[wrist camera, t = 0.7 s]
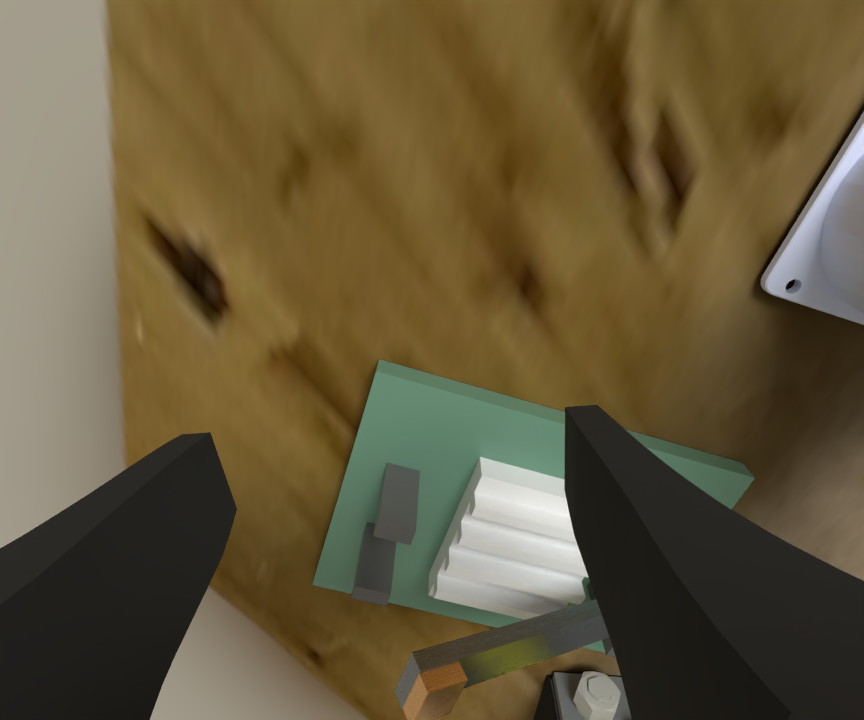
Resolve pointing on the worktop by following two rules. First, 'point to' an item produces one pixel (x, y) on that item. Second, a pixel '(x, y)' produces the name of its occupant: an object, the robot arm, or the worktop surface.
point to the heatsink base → (471, 503)
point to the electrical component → (583, 697)
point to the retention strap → (492, 657)
